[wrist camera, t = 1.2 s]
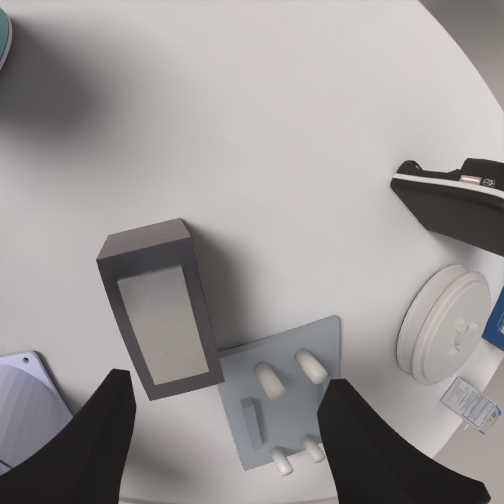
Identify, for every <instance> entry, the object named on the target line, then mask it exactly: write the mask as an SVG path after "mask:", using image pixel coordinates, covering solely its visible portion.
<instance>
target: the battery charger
mask: <svg viewBox="0 0 504 504" xmlns="http://www.w3.org/2000/svg"><path fill="white" fill-rule="evenodd" d="M391 187H392V188H393V190H394V191H395V192H396V193H397V194H398V196H399V197H400V198H401V199H402V200H403V201H404V203H405V204H406V205H407V206H408V207H409V209H410V210H411V211H412V212H413V213H414V215H415V216H416V217H417V218H418V219H419V221H420V222H421V223H422V224H423V225H424V227H425V228H426V229H428V230H430V231H434V232H437V233H440V234H443V235H446V236H449V237H452V238H455V239H457V240H460V241H463V242H465V243H468V244H471V245H473V246H476V247H478V248H481V249H484V250H486V251H489V252H492V253H494V254H497V255H500V256H503V257H504V163H501V162H496V161H491V160H485V159H473V158H467V159H466V160H465V162H464V164H463V166H462V168H461V170H459V169H456V170H454V171H452V172H448V173H444V172H433V171H425V170H422V169H421V167H420V166H419V165H418V164H417V163H416V162H415V161H411V160H408V161H405V162H404V163H403V164H402V165H401V166H400V167H399V169H398V170H397V172H396V173H395V174H394V175H393V177H392V181H391Z"/></svg>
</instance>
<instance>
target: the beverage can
mask: <svg viewBox="0 0 504 504" xmlns="http://www.w3.org/2000/svg"><path fill="white" fill-rule="evenodd" d="M11 42H12V24H11V21H10V18H9V17H8V15H7V14H6V13H5V12H4V11H3V10H2V9H1V8H0V70H1V68H2V66H3V64H4V62H5V60H6V58H7V55H8V53H9V50H10V46H11Z"/></svg>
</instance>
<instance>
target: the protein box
mask: <svg viewBox="0 0 504 504" xmlns="http://www.w3.org/2000/svg"><path fill="white" fill-rule="evenodd" d="M481 337H483V338H484V339H486V340H487V341H489V342H490V343H492V344H493V345H495V346H496V347H498V348H499V349H501V350H502V351H504V287H503V289H502V291H501V294H500V296H499V298H498V300H497V302H496V305H495V307H494V309H493V311H492V313H491V315H490V317H489V319H488V321H487V324H486V326H485V329H484V332H483V334H482V336H481Z"/></svg>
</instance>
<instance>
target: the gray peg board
mask: <svg viewBox="0 0 504 504" xmlns="http://www.w3.org/2000/svg"><path fill="white" fill-rule="evenodd" d="M339 355H340V319H339V318H337V317H336V316H335V315H333V316H330V317H327V318H325V319H322V320H319V321H316V322H313V323H310V324H307V325H304V326H301V327H298V328H295V329H292V330H289V331H286V332H283V333H280V334H277V335H274V336H270V337H267V338H264V339H261V340H257V341H254V342H251V343H247V344H244V345H241V346H237V347H234V348H230V349H227V350H223V351H219V352H218V356H219V360H220V364H221V368H222V372H223V375H224V379H225V382H223V383H219V384H217V385H218V389H219V392H220V396H221V399H222V403H223V406H224V409H225V413H226V416H227V419H228V422H229V426H230V429H231V432H232V435H233V438H234V441H235V445H236V448H237V451H238V454H239V457H240V460H241V463H242V466H243V468H244V470H245V471H246V470H249V469H252V468H255V467H259V466H262V465H265V464H268V463H270V462H273V461H274V462H275V464H276V466H277V468H278V470H279V472H280V473H281V475H282V476H287V475H289V474H291V473H292V472H293V468H292V466H291V464H290V463H289V461H288V459H287V456H290V455H292V454H295V453H297V452H300V451H303V450H305V449H306V451H307V452H308V454H309V456H310V457H311V459H312V460H313V462H314V463H319V462H321V461H323V460H324V459H325V455H324V453H323V452H322V450H321V449H320V447H319V446H318V444H319V443H322V440H321V436H320V431H319V425H318V418H317V411H318V409H319V406H320V404H321V402H322V399H323V397H324V394H325V392H326V390H327V387H328V385H329V382H330V380H331V379H339Z"/></svg>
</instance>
